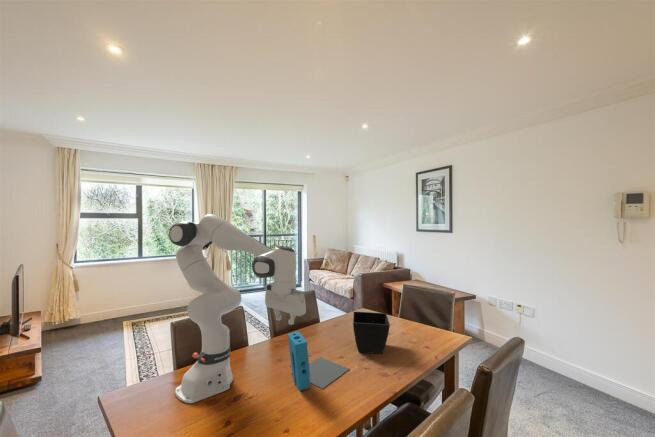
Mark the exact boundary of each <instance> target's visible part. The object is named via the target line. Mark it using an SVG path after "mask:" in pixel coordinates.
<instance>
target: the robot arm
mask: <svg viewBox="0 0 655 437" xmlns="http://www.w3.org/2000/svg"><path fill="white" fill-rule="evenodd" d="M168 238H169V241H170V242H171V244H173V245H175V246H177V247H180V248H178V250H177V251H176V253H175V259H176V261H177V265H178V268H179V269H180V271H181V273H182V275H183V277H184V279H185V280H186V283H187V284H188V285H189V287H190V289H192V290H194V291H196V292H199V293H202V294H199V295H198V296H196V297H195V298H193V299H192V300H190V301H189V302H188V305H187V316H188V318H189V319H190V320H191V321H192V322H193V323H195V324H197V325H198V327H199V330H200V334H201V350H200V353H198V352H197V351H196V352H193V353H192V358H194V359H197V360H196V362H195V363H194V364H193V365H192V366H190V368H189V369H188V370H187V371H186V372H185V373H184V374H183V376H182V379H181V384H180V385H178V386H177V387H175V390H174V394H175V397H176V398H177V399H179V400H180V401H181V402H183V403H186V404H194V403H197V402H199V401H202V400H205V399H208V398H209V397H212V396H215V395H217V394H221V393H223V392H225V391H227V390H229V389H230V387H231V384H232V382H233V380H234V376H233V374H232V369H231V359H230V358H231V345H230V331H231V330H230V328H229V327H228V326H227V325H225V324H224V323H223V322H222V316H223V315H226V314H228V313H230V312H232V311H234V310H235V309H236V308H238V307H239V306H240V304H241V303H242V294H241V292H240V290H239V289H238V288H236V287H233V286H232V285H229V284H228V283H226V282H224V280H222V279H221V278H220V277H219V276H218V275H217V274H216V273H215V271H214V270H213V268H212V267H211V265H210V264H209V261H208V260H207V258H206V257H205V256H204V254H203V251H204V250H208V248H209V247H210V246H211V244H214V245H215V246H217V247H218V248H220V249H222V250H225V251H241V252H245V253H246V252H247V253H249V254H252V255H253V256H255V258H254V259H253V260H252V264H251V269H252V273H253V274H254V276H255V277H257V278H259V279H267V278H273V282H271V283H268V284H265V285H264V287H265V290H266V291H265V295H264V303H265V306H266V307H268V308H270V309H273V312H274V315H275V320H276V321H279V322H280V321H281V320H282V315H281V312H283V313H287V314H289V316H290V318H289V319H287V321H288V325H291V326H292V325H294V324H295V319H296V317H302V316H304V315H305V314H306V312H307V305H306V304H307V303H306V299H305V293H303V291H302V290H298V289H297V277H296V272H297V254H296V251H295V249H293V248H292V247H290V246H283V245H278V246H276V247H275V248H274V249H272V247H269V246H267V245H266V244H264V243H263V242H261V241H259V240H258V239H257V238H254V237H252V236H250V235H249V234H247V233H246V232H244V231H243V230H241V229H239V228H238V227H237V226H235V225H234V224H233V223H231V222H229V221H228V220H226V219H225V218H223V217H221V216H219V215H216V214H213V213H210V214H209V213H208V214H205V215H203V217H201V219H200V221H199V222H197V221H180V222H177V223H176V222H175V223H174V224H173V225H171V226H170V229H169V232H168Z"/></svg>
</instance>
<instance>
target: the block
mask: <svg viewBox="0 0 655 437" xmlns="http://www.w3.org/2000/svg"><path fill="white" fill-rule="evenodd" d="M287 338H288V339H287V340H288V347H289V348H288V349H289V356H290V357H289V358H290V365H291V366H290V367H291V372H292V373H291V375H292V374H293V375H292V379H293V383H294V385H296V388H297V390H298V392H301V391H304V390H307V389H309V388H310V387H311V383H310V370H309V363H310V362H309V353H308V352H309V351H308V340H306V339H305V337H304V336H303V335H302V333H301V332H300V331H293V332H290V333H288V334H287Z"/></svg>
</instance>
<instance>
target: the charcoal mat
mask: <svg viewBox="0 0 655 437" xmlns="http://www.w3.org/2000/svg"><path fill="white" fill-rule="evenodd" d="M309 370H310V385H313V386H314V387H317V388H320V389H321V390H324V389H325V388H326V387H328V386H330V385H331V384H332V383H334V382H335V381H336V380H337V379H339V378H341V377H342V376H343V375H345V374H346V373H347V372H349V371H351V369H350V368H349V367H346V366H344V365H341V364H339V363H337V362H334V361H331V360H329V359H326V358H324V357H321V356H320V357H318V358H316V359H314V360H313V361H311V362H309ZM291 375H292V376H293V374H292V373H291Z"/></svg>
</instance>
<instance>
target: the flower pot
mask: <svg viewBox="0 0 655 437" xmlns="http://www.w3.org/2000/svg"><path fill="white" fill-rule="evenodd" d="M352 315H353V317H352V325H353V334H354V339H355V344H356V348H357V351H358V352H359V353H363V354H364V353H365V354H380V355H382V354H383V353H384V350H385V347H386V344H387V341H388V336H389V332H390V326H391V324H390V321H389V318H388V315H387V313H385V312H370V311H369V312H366V311H353V314H352Z"/></svg>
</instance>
